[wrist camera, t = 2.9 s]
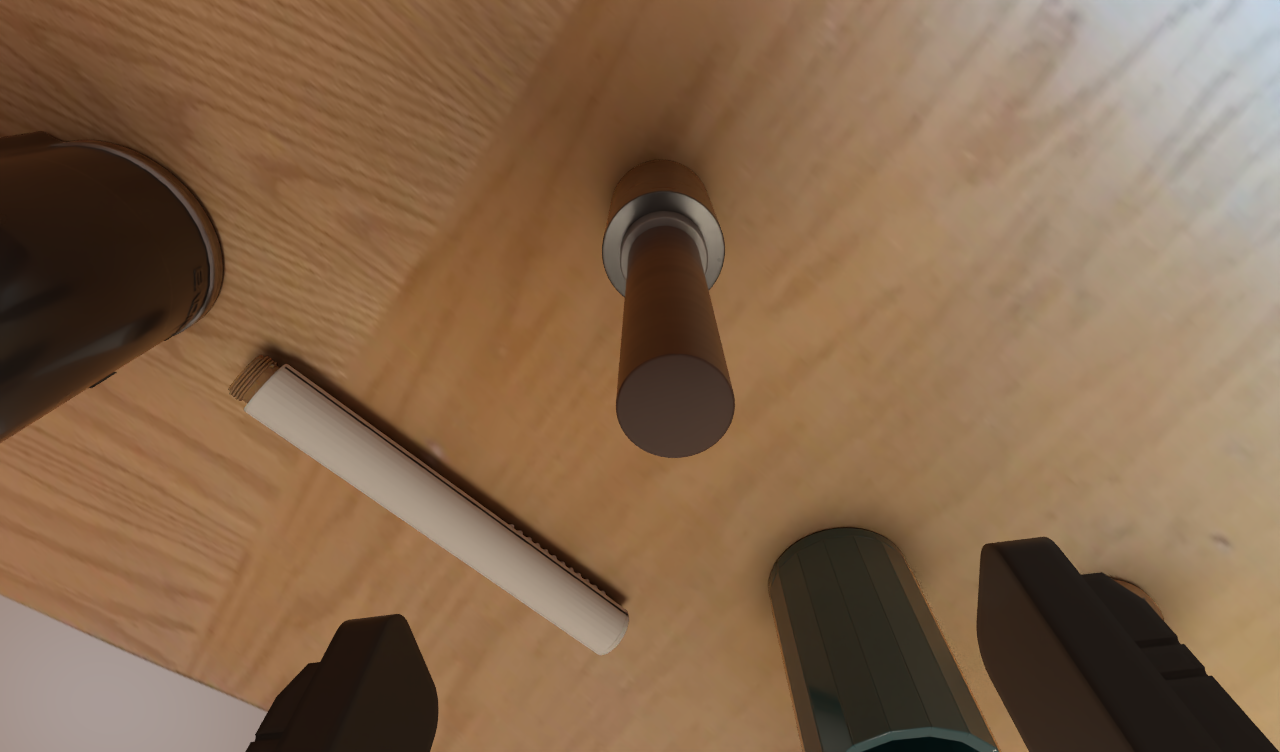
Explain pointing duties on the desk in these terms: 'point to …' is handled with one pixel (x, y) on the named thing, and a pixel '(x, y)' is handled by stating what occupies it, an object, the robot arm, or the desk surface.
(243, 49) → the desk surface
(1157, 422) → the desk surface
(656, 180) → the brush
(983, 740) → the teal pencil cup
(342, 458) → the tube
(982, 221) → the desk surface
